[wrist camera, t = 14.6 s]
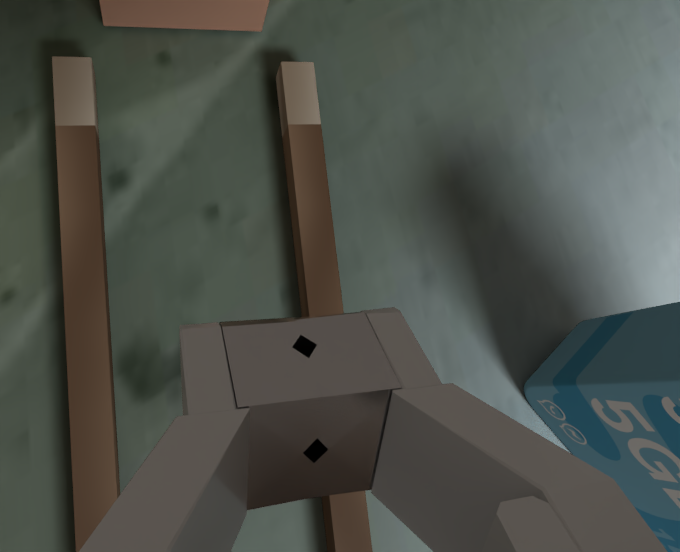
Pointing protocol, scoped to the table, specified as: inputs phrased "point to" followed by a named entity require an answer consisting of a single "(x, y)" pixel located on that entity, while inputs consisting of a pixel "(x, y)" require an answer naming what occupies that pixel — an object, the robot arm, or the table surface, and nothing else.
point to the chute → (92, 287)
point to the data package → (621, 407)
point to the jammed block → (186, 14)
